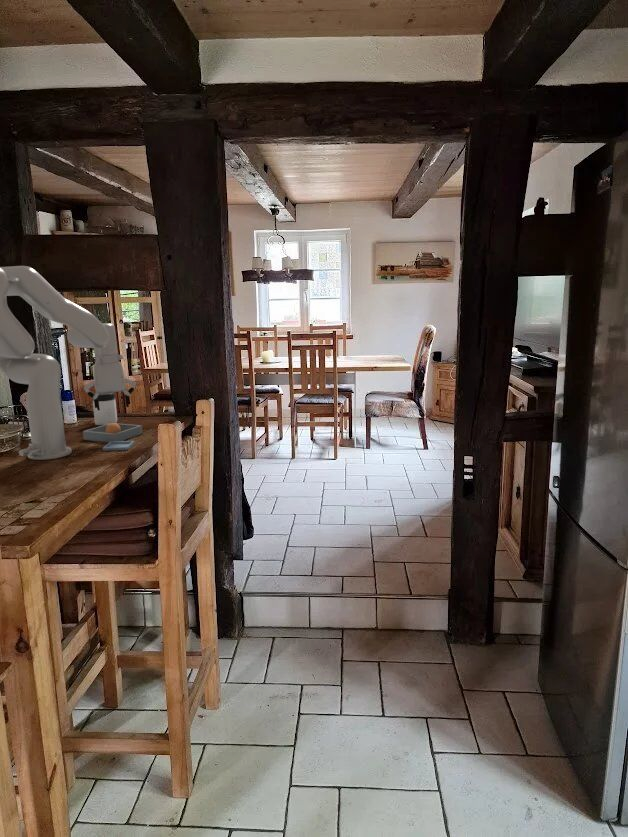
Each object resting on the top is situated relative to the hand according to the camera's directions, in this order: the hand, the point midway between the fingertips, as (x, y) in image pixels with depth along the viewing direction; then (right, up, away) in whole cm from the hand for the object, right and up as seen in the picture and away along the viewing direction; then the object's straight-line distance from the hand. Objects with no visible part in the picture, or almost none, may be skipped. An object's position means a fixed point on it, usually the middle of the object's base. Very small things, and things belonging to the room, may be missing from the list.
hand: (113, 408), depth 196 cm
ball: (0, -10, +1) cm, 10 cm away
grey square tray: (0, -10, +1) cm, 10 cm away
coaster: (+7, -13, -13) cm, 20 cm away
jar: (-11, -6, +23) cm, 26 cm away
